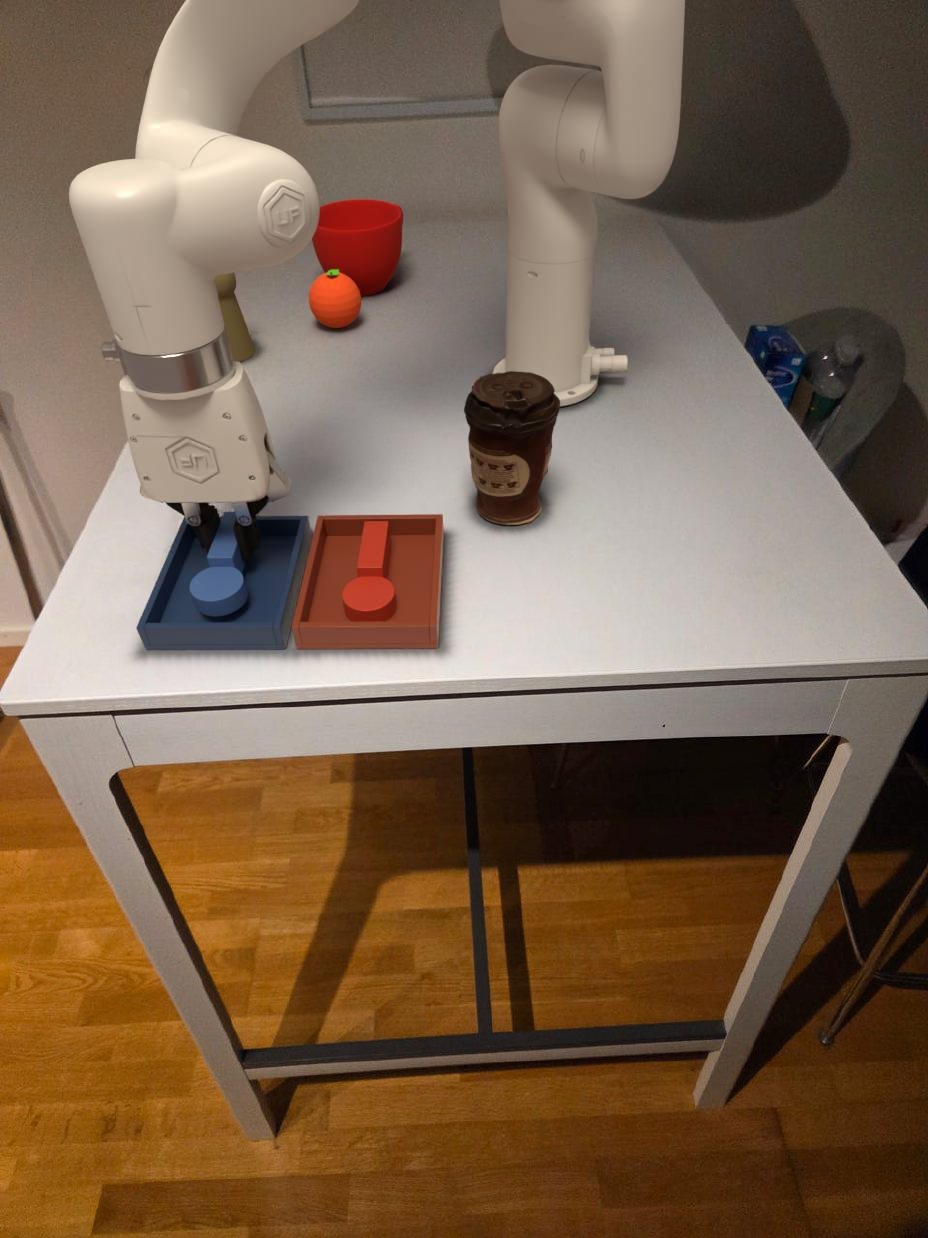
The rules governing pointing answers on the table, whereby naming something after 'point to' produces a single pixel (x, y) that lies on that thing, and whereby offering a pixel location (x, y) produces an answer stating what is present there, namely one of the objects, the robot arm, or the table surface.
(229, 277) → the olive brown pawn
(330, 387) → the table surface
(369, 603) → the red spoon
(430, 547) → the red tray
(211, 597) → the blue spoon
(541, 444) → the coffee cup
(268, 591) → the blue tray
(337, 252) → the ceramic cup
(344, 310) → the clementine
